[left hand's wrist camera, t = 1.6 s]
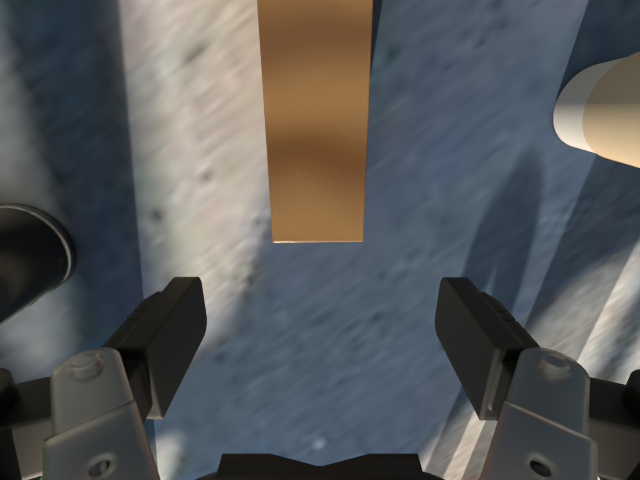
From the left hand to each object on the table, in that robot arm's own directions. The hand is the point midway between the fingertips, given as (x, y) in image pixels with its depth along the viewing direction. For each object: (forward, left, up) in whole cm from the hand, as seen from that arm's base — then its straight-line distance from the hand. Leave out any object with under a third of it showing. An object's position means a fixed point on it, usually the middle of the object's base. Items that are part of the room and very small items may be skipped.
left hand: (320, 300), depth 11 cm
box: (-4, +7, -22) cm, 24 cm away
